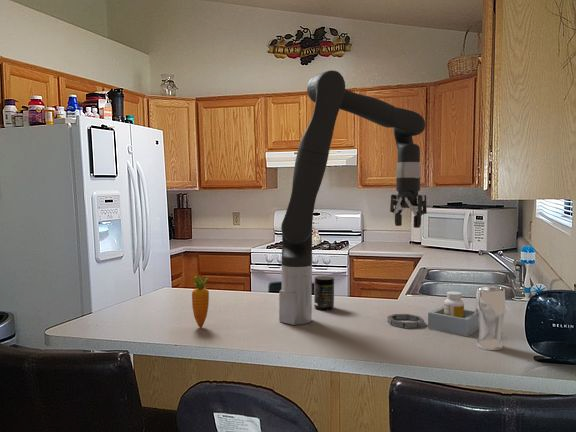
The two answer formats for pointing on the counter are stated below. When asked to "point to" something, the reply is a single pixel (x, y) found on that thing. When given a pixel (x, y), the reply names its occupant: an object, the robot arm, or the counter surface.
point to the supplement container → (324, 292)
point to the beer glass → (490, 316)
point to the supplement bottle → (454, 305)
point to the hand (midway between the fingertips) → (407, 226)
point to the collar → (393, 321)
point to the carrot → (200, 301)
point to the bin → (453, 322)
